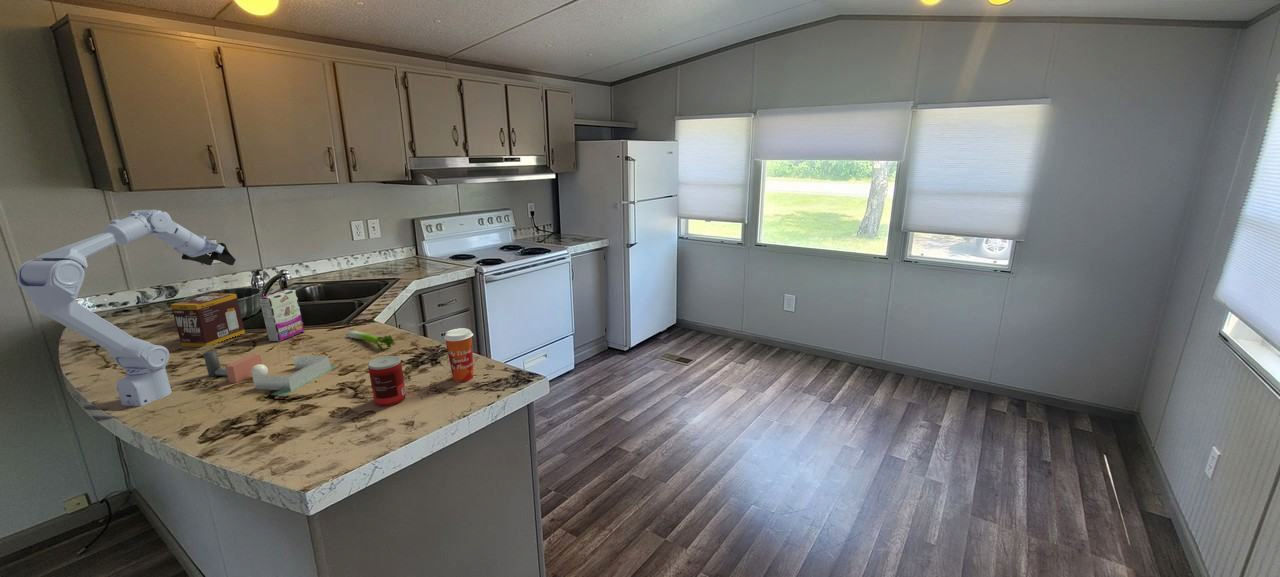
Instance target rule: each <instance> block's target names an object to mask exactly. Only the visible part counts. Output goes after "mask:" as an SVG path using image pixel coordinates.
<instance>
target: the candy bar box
mask: <svg viewBox="0 0 1280 577" xmlns="http://www.w3.org/2000/svg"><path fill="white" fill-rule="evenodd" d="M259 301H260V305H261V309H260V310H261V312H262V313H261V314H262V316H263V320H264V324H265V329H266V333H267V338H268V341H269V342H271V341H277V342H278V343H279V342H280V341H281V342H283V341H286V340H288V339H290V337H291V338H293V337H295V336H294V335H296V336H298V335H300V334H302V333H301V332H303V333H305V332H304V331H306V330H305V326H304V321H303V317H302V312H301V308H300V304H299V303H300V302H299V299H298V293H297V290H295V289H284V290H281V291H277V292H274V293H271V294H267V295H264V296H262V297H261V298H259ZM299 333H300V334H299ZM297 334H298V335H297ZM292 336H293V337H292ZM285 339H286V340H285ZM281 342H280V343H281Z"/></svg>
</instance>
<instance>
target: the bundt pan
mask: <svg viewBox="0 0 1280 577" xmlns="http://www.w3.org/2000/svg"><path fill="white" fill-rule="evenodd" d="M211 293H222V294H236V295H237V300H238V304H239V309H240V313H241V318H242V319H248V318H251V316H254V315H256V314H257V313H258V312H259V311H260V310H262V309H261V305H260V301H259V298H261V297H263V293H264V289H261V287H252V286H251V287H250V286H248V287H244V286H242V287H233V288H222V289H217V290H209V291H205V292H202V293H196V294H194V295H190V296H187V297H184V298H183V300H180V302H182V301H186V300H189V299H193V298H197V297H200V296H204V295H207V294H211Z"/></svg>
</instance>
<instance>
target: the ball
mask: <svg viewBox="0 0 1280 577" xmlns="http://www.w3.org/2000/svg"><path fill="white" fill-rule="evenodd" d="M268 373H269V368H268V367H267V366H266V365H265V364H263V363H262V364H258V365H255V366H254V367H253V368H252V369H251V375H252V376H254V375H268ZM252 376H251V377H252Z"/></svg>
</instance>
